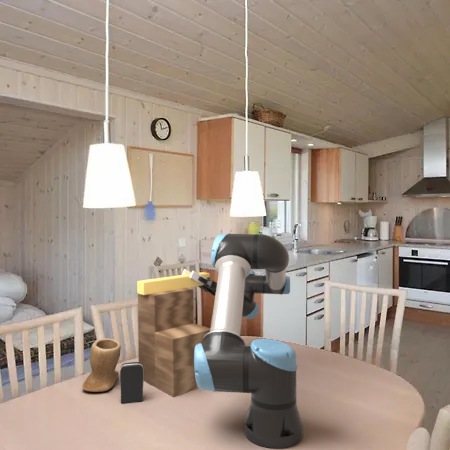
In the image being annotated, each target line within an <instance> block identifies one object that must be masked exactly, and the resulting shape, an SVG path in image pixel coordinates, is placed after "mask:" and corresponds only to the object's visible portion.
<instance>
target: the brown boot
mask: <svg viewBox="0 0 450 450" xmlns="http://www.w3.org/2000/svg"><path fill="white" fill-rule="evenodd" d="M121 349H122V345H121V344H120V342H119V341H117V340H115V339H112V338H107V337H106V338H100V339H97V340H95V341H94V342H93V343H92V345H91V348H90V354H89V362H90V363H89V364H90V367H91V372H90V373H89V375H87V377H86V379H85V380H84V381H83V384H82V385H81V386H82V387H81V388H82V389H83V391H86V392H93V393H96V392H97V393H98V392H100V393H101V392H106V391H109V390H111V389H112V387H113V386H114V384H115V383H116V381H117V379H118V377H119V376H120V372H118V371H117V370H116V367H117V365H118V362H119V360H120V357H121Z"/></svg>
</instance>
